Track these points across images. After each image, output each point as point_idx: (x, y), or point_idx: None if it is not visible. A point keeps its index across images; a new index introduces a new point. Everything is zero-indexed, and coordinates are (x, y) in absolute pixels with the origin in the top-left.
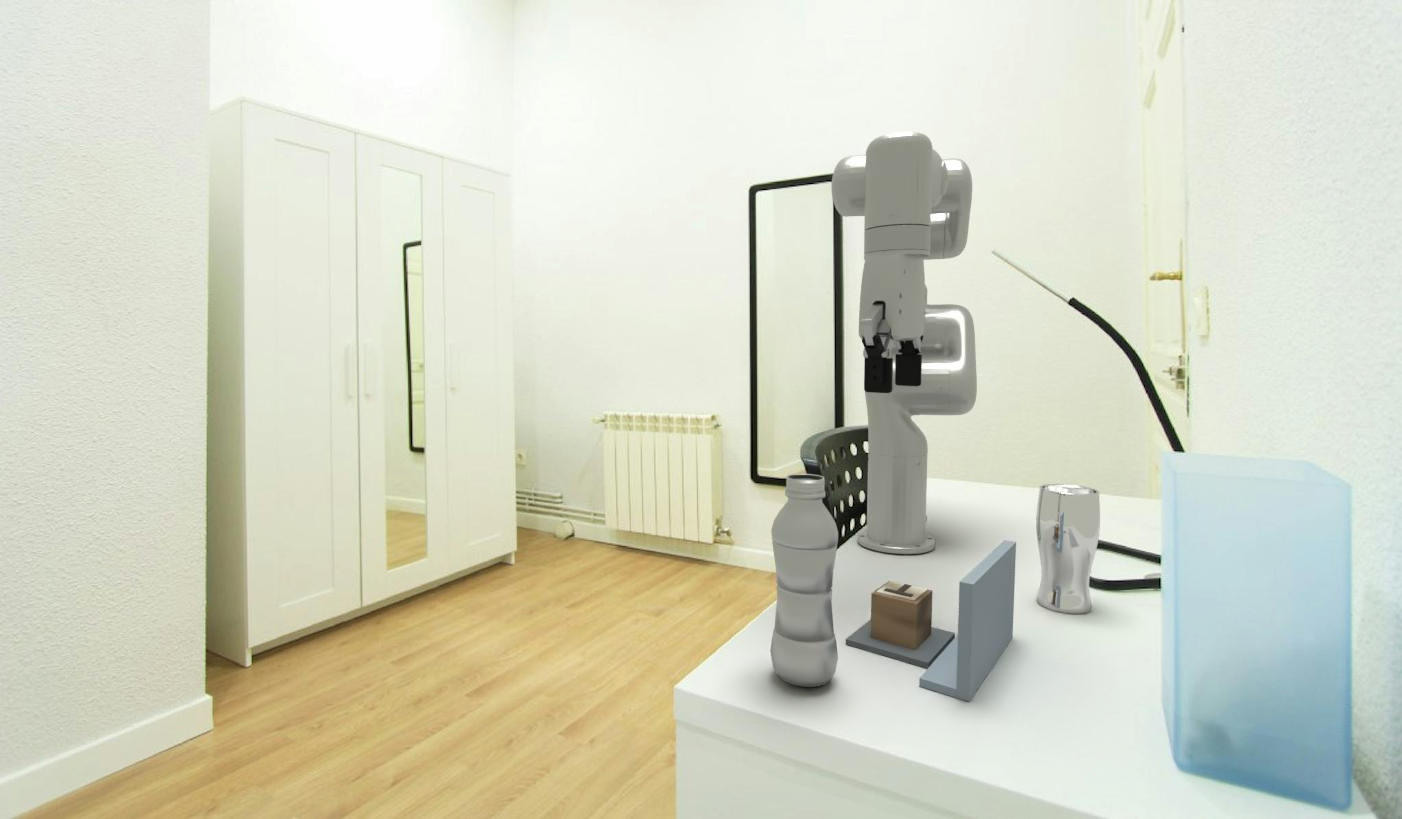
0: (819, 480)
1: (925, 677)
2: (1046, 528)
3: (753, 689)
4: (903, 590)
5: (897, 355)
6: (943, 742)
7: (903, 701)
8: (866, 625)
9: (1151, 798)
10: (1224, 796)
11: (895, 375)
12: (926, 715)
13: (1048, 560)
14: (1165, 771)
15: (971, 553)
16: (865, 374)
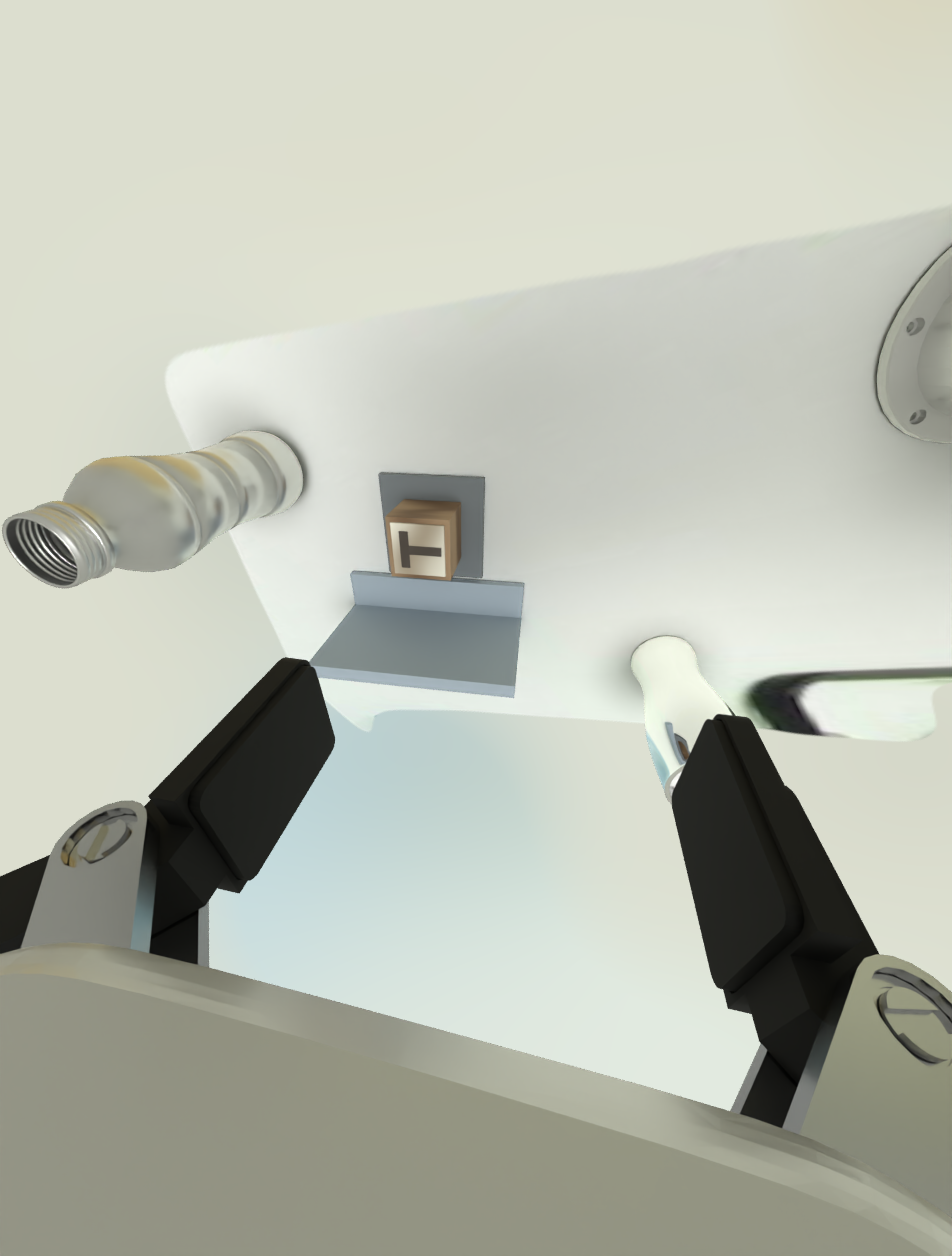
0: (54, 585)
1: (355, 578)
2: (661, 717)
3: (218, 432)
4: (414, 554)
5: (806, 926)
6: (292, 605)
7: (319, 566)
8: (434, 480)
9: (335, 701)
10: (365, 727)
11: (738, 757)
12: (314, 587)
13: (654, 686)
14: (368, 709)
15: (928, 518)
16: (232, 716)
